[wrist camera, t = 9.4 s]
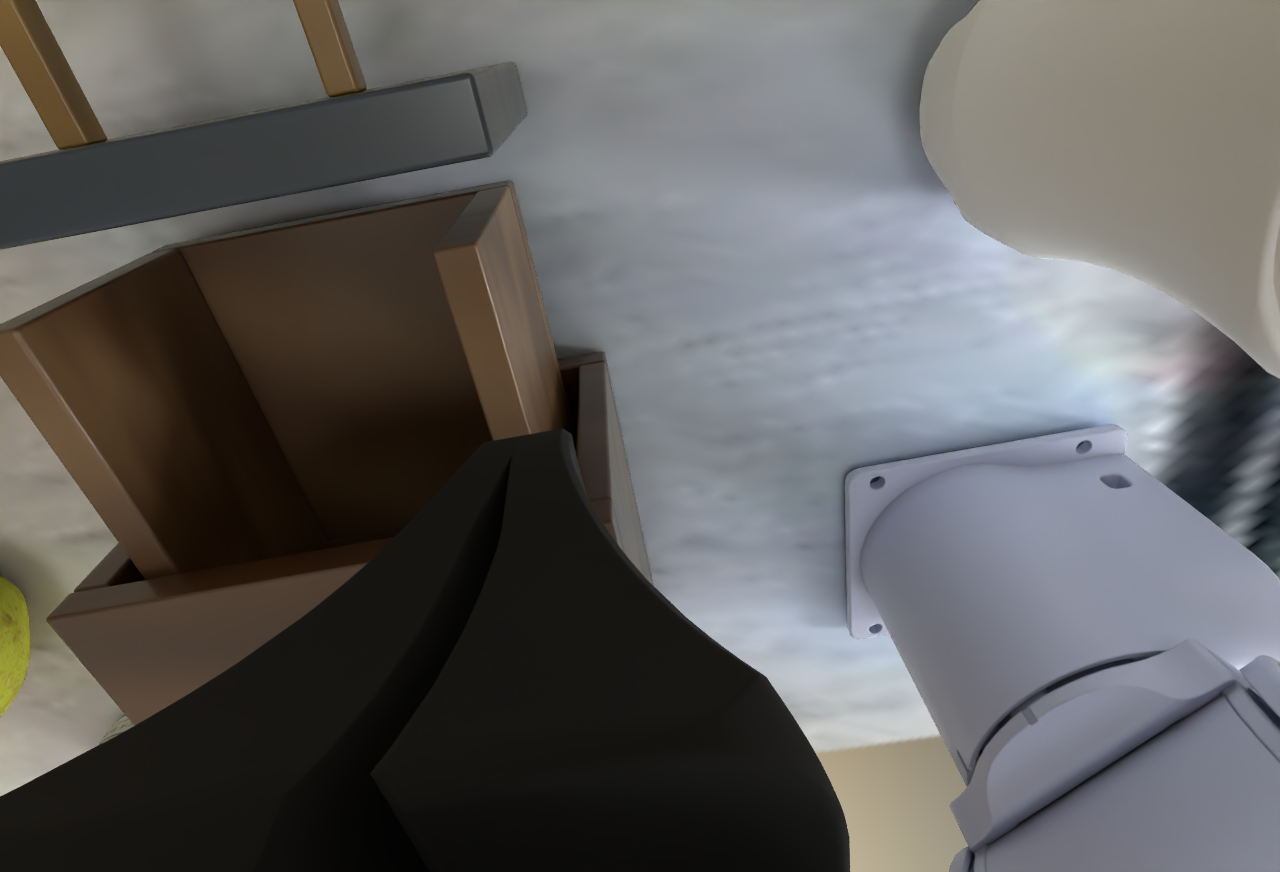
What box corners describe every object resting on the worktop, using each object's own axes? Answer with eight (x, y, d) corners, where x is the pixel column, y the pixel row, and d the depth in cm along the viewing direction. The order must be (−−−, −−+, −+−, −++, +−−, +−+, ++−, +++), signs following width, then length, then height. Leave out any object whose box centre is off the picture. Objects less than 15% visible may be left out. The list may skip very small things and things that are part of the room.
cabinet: (235, 416, 21) (42, 619, 14) (604, 349, 21) (612, 521, 13) (389, 703, 28) (316, 943, 20) (668, 656, 28) (697, 883, 20)
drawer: (-34, -90, 14) (-484, -185, 8) (459, -191, 14) (360, -365, 8) (304, 544, 23) (204, 722, 17) (613, 491, 22) (622, 651, 16)
